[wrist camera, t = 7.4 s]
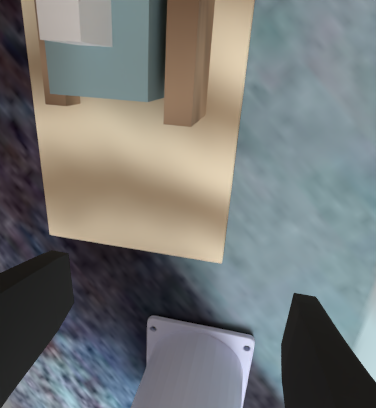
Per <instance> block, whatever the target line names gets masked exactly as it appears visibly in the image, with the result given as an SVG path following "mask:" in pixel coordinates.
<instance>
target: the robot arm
mask: <svg viewBox="0 0 376 408" xmlns="http://www.w3.org/2000/svg"><path fill="white" fill-rule="evenodd" d="M73 303H74V297H73V289H72V280H71V272H70V263H69V255H68V253H63V252H58V251H49V252H46V253H44V254H41V255H39V256H37V257H34V258H32V259H30V260H28V261H26V262H23V263H21V264H19V265H17V266H15V267H13V268H10V269H8V270H6V271H4V272H2V273H0V408H1V407H2V406H3V404H4V403H5V402H6V400H7V399H8V397H9V396H10V394H11V393H12V392H13V390H14V389H15V388H16V386H17V385H18V384H19V382H20V381H21V380H22V378H23V377H24V376H25V374H26V373H27V372H28V370H29V369H30V368H31V366H32V365H33V364H34V362H35V361H36V360H37V358H38V357H39V356H40V354H41V353H42V352H43V350H44V349H45V348H46V346H47V345H48V344H49V342H50V341H51V339H52V338H53V337H54V335H55V334H56V333H57V331H58V330H59V328H60V326H61V325H62V323H63V321H64V320H65V318H66V316H67V314H68V312H69V311H70V309H71V307H72V305H73ZM152 326H154V327H155V328H153V327H152ZM245 346H249V347H245ZM254 346H255V339H254V337H253V336H252V335H249V334H244V333H239V332H234V331H229V330H224V329H219V328H214V327H209V326H204V325H199V324H194V323H189V322H184V321H179V320H174V319H169V318H164V317H159V316H150V317H149V319H148V321H147V365H146V369H145V372H144V374H143V377H142V380H141V382H140V385H139V387H138V390H137V393H136V395H135V398H134V400H133V403H132V406H131V408H243V402H244V397H245V392H246V387H247V382H248V377H249V372H250V366H251V361H252V356H253V351H254ZM281 367H282V386H283V394H284V403H285V408H376V382H375V381H374V380H373V378H372V377H371V376H370V374H369V373H368V372H367V370H366V369H365V368H364V366H363V365H362V364H361V362H360V361H359V359H358V358H357V357H356V355H355V354H354V352H353V351H352V350H351V348H350V347H349V346H348V344H347V343H346V341H345V340H344V338H343V337H342V335H341V334H340V332H339V331H338V330H337V328H336V327H335V325H334V324H333V322H332V320H331V319H330V317H329V316H328V314H327V313H326V311H325V310H324V308H323V307H322V305H321V304H320V302H319V301H318V299H317V298H316V297H314V296H309V295H303V294H297V293H294V295H293V299H292V303H291V307H290V311H289V315H288V319H287V323H286V327H285V331H284V335H283V339H282V343H281Z"/></svg>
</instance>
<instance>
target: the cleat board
mask: <svg viewBox="0 0 376 408" xmlns="http://www.w3.org/2000/svg"><path fill="white" fill-rule="evenodd" d="M254 3H255V0H167V26H166V57H165V89H164V98H161V99H158V100H154V101H150V102H139V101H128V100H116V99H104V98H93V97H81V96H69V95H58V94H50V89H49V79H48V69H47V60H46V50H45V41H44V40H40V35H39V26H38V16H37V7H36V0H21V5H22V13H23V21H24V29H25V37H26V45H27V54H28V62H29V70H30V78H31V86H32V94H33V102H34V111H35V119H36V127H37V135H38V143H39V151H40V159H41V168H42V176H43V184H44V192H45V200H46V208H47V216H48V225H49V233H50V235H53V236H59V237H65V238H71V239H77V240H83V241H89V242H95V243H101V244H107V245H113V246H119V247H125V248H131V249H137V250H143V251H149V252H155V253H161V254H167V255H173V256H179V257H185V258H191V259H197V260H203V261H209V262H215V263H221V264H222V259H223V254H224V245H225V237H226V229H227V221H228V213H229V205H230V197H231V189H232V181H233V173H234V165H235V157H236V149H237V141H238V132H239V124H240V116H241V108H242V100H243V92H244V84H245V76H246V68H247V60H248V52H249V44H250V36H251V28H252V19H253V11H254Z"/></svg>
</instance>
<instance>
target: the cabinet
mask: <svg viewBox="0 0 376 408" xmlns="http://www.w3.org/2000/svg"><path fill="white" fill-rule="evenodd" d="M36 7H37V16H38V26H39V35H40V40H44V41H45V50H46V60H47V69H48V79H49V89H50V94H58V95H69V96H81V97H93V98H104V99H116V100H128V101H139V102H150V101H154V100H158V99H161V98H164V89H165V57H166V26H167V0H36Z"/></svg>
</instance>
